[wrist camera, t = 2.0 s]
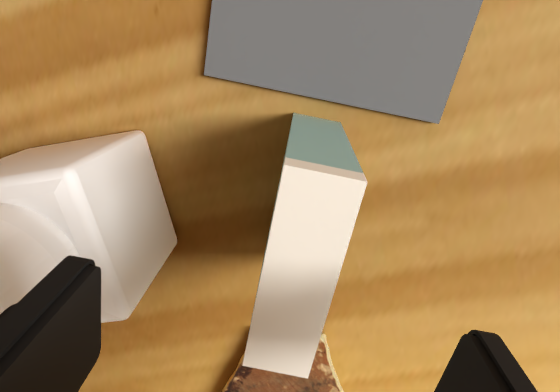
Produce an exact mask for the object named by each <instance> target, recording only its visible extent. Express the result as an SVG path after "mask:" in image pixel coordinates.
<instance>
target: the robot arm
mask: <svg viewBox="0 0 560 392" xmlns="http://www.w3.org/2000/svg"><path fill="white" fill-rule="evenodd" d="M100 349H101V268H100V267H97V266H95V262H94V260H92V259H87V258H82V257H76V256H71V255H70V256H67V257H66V258H64V259H63V260H62V261H61V262H60V263H59V264H58V265H57V266H56V267H55V268H54V269H53V270H52V271H50V272H49V273H48V274H47V275H46V276H45V277H44V278H43V279H42V280H41V281H40V282H39V283H38V284H37V285H36V286H35V287H34V288H33V289H31V290H30V291H29V292H28V293H27V294H26V295H25V296H24V297H23V298H22V299H21V300H20V301H19V302H18V303H16V304H13V305H11V306H10V307H8V308H7V309H6V310H4V311H3V312H2V313H1V314H0V392H78V390H79V389H80V387H81V386H82V384H83V382H84V381H85V379H86V378H87V376H88V374H89V373H90V371H91V369H92V368H93V366H94V365H95V363H96V361H97V359H98V357H99V354H100ZM434 392H537V390H536V389H535V387H534V386H533V384H532V383H531V381H530V380H529V379H528V377H527V376H526V374H525V373H524V371H523V370H522V368H521V367H520V365H519V364H518V362H517V361H516V360H515V358H514V357H513V355H512V354H511V352H510V351H509V349H508V348H507V346H506V345H505V343H504V342H503V340H502V339H501V338H500V337H499V336H498V335H497V334H495V333H489V332H484V331H478V330H471V331H470V332H469V333H468V334H464V335H463V336H462V337H461V339H460V341H459V343H458V345H457V347H456V349H455V351H454V353H453V355H452V357H451V359H450V361H449V363H448V365H447V367H446V369H445V371H444V373H443V375H442V377H441V379H440V381H439V383H438V385H437V387H436V389H435V391H434Z"/></svg>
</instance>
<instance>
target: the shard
mask: <svg viewBox="0 0 560 392" xmlns="http://www.w3.org/2000/svg"><path fill="white" fill-rule="evenodd" d="M244 355H245V353H244V354H243V355H242V357H241V359H240V361H239V364H238V367H237V369H236V370H235V371H234V373H233V374H232V375H231V377H230V378H229V380H228V382H227V383H226V385H225V386H224V388H223V391H222V392H344V391H343V389H342V387H341V385H340V382H339V379H338V377H337V374H336V372H335V369H334V367H333V364H332V360H331V356H330V352H329V347H328V344H327V340H326V335H325V334H323V333H322V334H321V337H320V340H319V344H318V347H317V350H316V353H315V357H314V360H313V363H312V367H311V370H310V373H309V377H308V379H307V378H302V377H297V376H292V375H287V374H282V373H277V372H272V371H267V370H262V369H257V368H252V367H247V366H242V365H243V360H244Z"/></svg>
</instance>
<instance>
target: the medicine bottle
mask: <svg viewBox="0 0 560 392" xmlns="http://www.w3.org/2000/svg"><path fill="white" fill-rule="evenodd" d="M176 244H177V237H176V234H175V230H174V227H173V224H172V221H171V217H170V214H169V211H168V208H167V204H166V201H165V198H164V195H163V191H162V188H161V185H160V182H159V178H158V175H157V172H156V169H155V165H154V162H153V159H152V156H151V152H150V149H149V146H148V143H147V139H146V136H145V134H144V133H143V132H142V131H138V130H135V131H129V132H123V133H117V134H111V135H105V136H99V137H93V138H87V139H81V140H76V141H70V142H64V143H58V144H52V145H46V146H40V147H34V148H28V149H25V150H23V151H20V152H17V153H15V154H12V155H9V156H6V157H4V158H1V159H0V314H1V313H2V312H3V311H4V310H6V309H7V308H8V307H10V306H11V305H13V304H16V303H18V302H19V301H20V300H21V299H22V298H23V297H24V296H25V295H26V294H27V293H28V292H29V291H30V290H31V289H33V288H34V287H35V286H36V285H37V284H38V283H39V282H40V281H41V280H42V279H43V278H44V277H45V276H46V275H47V274H48V273H49V272H50V271H52V270H53V269H54V268H55V267H56V266H57V265H58V264H59V263H60V262H61V261H62V260H63V259H64V258H66V257H67V256H70V255H71V256H76V257H82V258H87V259H92V260H94V262H95V266H97V267H100V268H101V323H103V322H112V321H122V320H126V319H127V318H128V317H129V316H130V315H131V313H132V312H133V310H134V309H135V307H136V306H137V304H138V303H139V301H140V300H141V298H142V296H143V295H144V293H145V292H146V290H147V289H148V287H149V286H150V284H151V283H152V281H153V280H154V278H155V276H156V275H157V273H158V272H159V270H160V269H161V267H162V266H163V264H164V263H165V261H166V260H167V258H168V256H169V255H170V253H171V252H172V250H173V249H174V247H175V246H176Z"/></svg>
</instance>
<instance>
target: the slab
mask: <svg viewBox="0 0 560 392" xmlns="http://www.w3.org/2000/svg"><path fill="white" fill-rule="evenodd" d="M366 185H367V180H366V178H365V175H364V173H363V171H362V169H361V167H360V164H359V162H358V160H357V158H356V156H355V153H354V151H353V149H352V147H351V145H350V142H349V140H348V138H347V136H346V134H345V131H344V129H343V127H342V125H341V122H336V121H331V120H326V119H321V118H316V117H312V116H307V115H302V114H297V113H293V118H292V123H291V128H290V132H289V137H288V142H287V147H286V152H285V157H284V162H283V166H282V171H281V176H280V181H279V186H278V191H277V196H276V200H275V205H274V210H273V215H272V220H271V225H270V230H269V234H268V239H267V244H266V249H265V254H264V259H263V264H262V269H261V274H260V279H259V284H258V289H257V294H256V299H255V305H254V310H253V315H252V320H251V325H250V330H249V335H248V340H247V345H246V350H245V355H244V360H243V365H242V366H247V367H252V368H257V369H262V370H267V371H272V372H277V373H282V374H287V375H292V376H297V377H302V378H307V379H308V377H309V373H310V370H311V367H312V363H313V360H314V357H315V353H316V350H317V347H318V344H319V340H320V337H321V334H322V330H323V327H324V324H325V320H326V317H327V314H328V310H329V307H330V304H331V301H332V297H333V294H334V291H335V287H336V284H337V281H338V277H339V274H340V271H341V268H342V264H343V261H344V258H345V254H346V251H347V248H348V244H349V241H350V238H351V234H352V231H353V228H354V225H355V221H356V218H357V215H358V211H359V208H360V205H361V201H362V198H363V195H364V192H365V188H366Z"/></svg>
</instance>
